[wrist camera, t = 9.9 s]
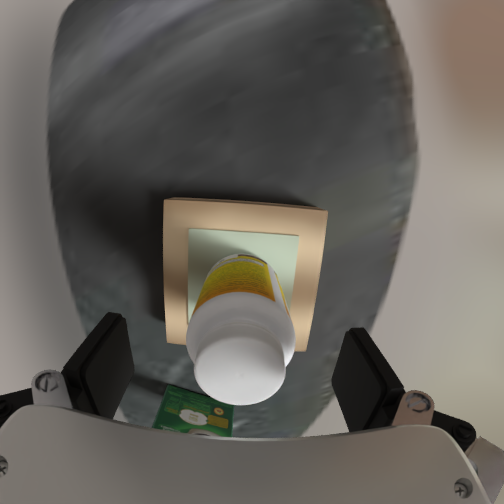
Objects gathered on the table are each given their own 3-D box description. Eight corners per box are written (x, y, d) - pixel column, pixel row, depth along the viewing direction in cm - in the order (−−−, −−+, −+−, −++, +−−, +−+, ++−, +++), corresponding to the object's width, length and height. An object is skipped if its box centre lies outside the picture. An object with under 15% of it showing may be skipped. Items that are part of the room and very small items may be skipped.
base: (174, 197, 22) (163, 200, 19) (317, 207, 23) (328, 211, 19) (174, 325, 25) (166, 343, 22) (299, 333, 25) (306, 352, 22)
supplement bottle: (190, 280, 20) (148, 361, 11) (249, 236, 20) (252, 291, 10) (236, 331, 22) (231, 429, 12) (293, 293, 21) (327, 380, 11)
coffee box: (162, 397, 27) (133, 487, 15) (165, 381, 27) (133, 477, 14) (228, 416, 28) (223, 509, 16) (235, 401, 28) (232, 500, 15)
